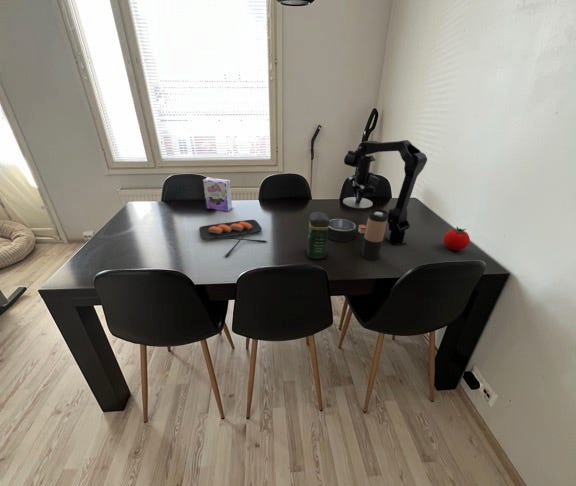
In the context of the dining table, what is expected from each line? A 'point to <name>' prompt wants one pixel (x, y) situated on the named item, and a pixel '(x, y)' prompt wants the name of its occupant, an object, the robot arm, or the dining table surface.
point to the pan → (341, 230)
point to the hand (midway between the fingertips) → (358, 200)
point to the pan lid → (355, 204)
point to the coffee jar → (317, 235)
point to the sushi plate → (230, 230)
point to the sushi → (362, 229)
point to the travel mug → (374, 233)
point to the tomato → (456, 239)
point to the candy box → (217, 194)
